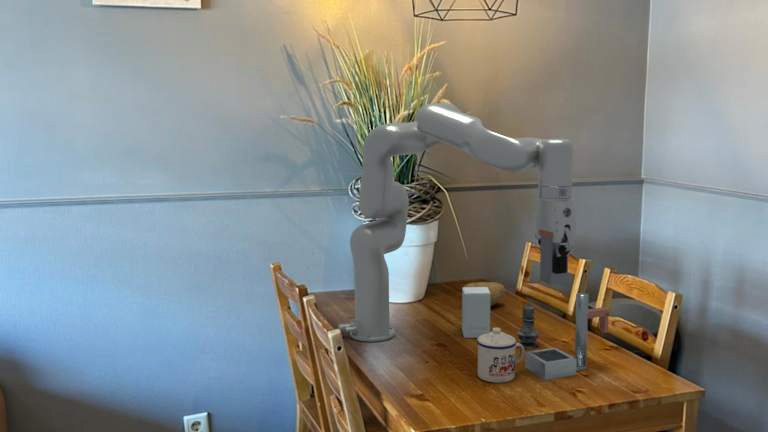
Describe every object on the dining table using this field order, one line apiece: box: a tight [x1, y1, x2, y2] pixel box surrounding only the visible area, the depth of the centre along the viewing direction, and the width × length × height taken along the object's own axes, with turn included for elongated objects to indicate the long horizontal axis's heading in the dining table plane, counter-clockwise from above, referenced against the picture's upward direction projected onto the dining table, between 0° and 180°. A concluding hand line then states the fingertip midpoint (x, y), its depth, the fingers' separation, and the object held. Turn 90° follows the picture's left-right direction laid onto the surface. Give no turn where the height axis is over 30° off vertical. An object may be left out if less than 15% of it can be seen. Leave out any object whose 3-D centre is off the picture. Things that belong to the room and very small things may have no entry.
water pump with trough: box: [524, 292, 610, 381], centre depth 170 cm, size 20×8×18 cm, turn 111°
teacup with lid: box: [476, 327, 525, 384], centre depth 166 cm, size 12×9×12 cm
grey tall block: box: [539, 229, 569, 286], centre depth 165 cm, size 5×5×12 cm
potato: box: [463, 281, 506, 307], centre depth 224 cm, size 10×14×8 cm
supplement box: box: [461, 286, 491, 339], centre depth 197 cm, size 7×7×13 cm
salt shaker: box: [516, 301, 540, 350], centre depth 187 cm, size 6×6×12 cm
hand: (553, 270), depth 165 cm, fingers closed on grey tall block, 4 cm apart
